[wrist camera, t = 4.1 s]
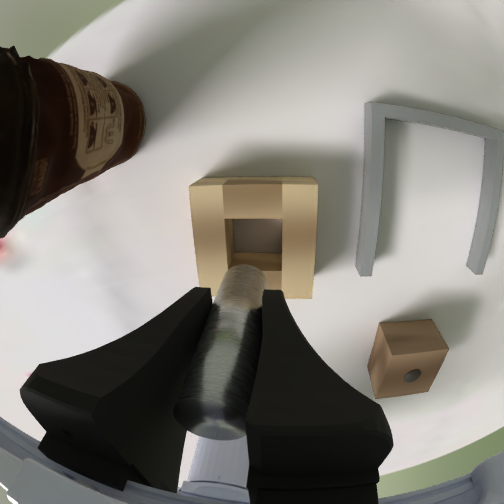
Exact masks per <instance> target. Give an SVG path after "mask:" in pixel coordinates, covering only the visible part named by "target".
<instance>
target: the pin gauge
mask: <svg viewBox="0 0 504 504" xmlns="http://www.w3.org/2000/svg"><path fill="white" fill-rule="evenodd" d="M264 289H268V281H267V278H266V276H265V275H264V273H263V272H262V271H261V270H259V269H258V268H256V267H254V266H252V265H247V264H240V265H236V266H233V267H231V268H230V269H229V270H228V271H227V272H226V273H225V275H224V277H223V279H222V282H221V284H220V287H219V290H218V292H217V295H216V297H215V300H214V303H213V305H212V308H211V310H210V313H209V316H208V318H207V321H206V324H205V326H204V329H203V331H202V334H201V337H200V339H199V342H198V345H197V347H196V350H195V353H194V355H193V358H192V361H191V363H190V366H189V369H188V371H187V374H186V377H185V380H184V382H183V385H182V388H181V391H180V393H179V396H178V399H177V401H176V404H175V407H174V410H173V415H174V417H175V419H176V421H177V422H178V423H179V424H180V425H181V426H182V427H183V428H185V429H186V430H188V431H190V432H191V433H193V434H196V435H198V436H201V437H204V438H208V439H213V440H221V441H228V440H236V439H239V438H242V437H244V436H246V427H245V418H246V415H247V411H248V407H249V403H250V399H251V395H252V391H253V387H254V382H255V377H256V373H257V367H258V362H259V356H260V350H261V344H262V295H263V291H264Z"/></svg>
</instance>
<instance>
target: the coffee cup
mask: <svg viewBox="0 0 504 504" xmlns="http://www.w3.org/2000/svg"><path fill="white" fill-rule="evenodd" d="M144 131H145V115H144V109H143V105H142V102H141V100H140V99H139V97H138V96H137V94H136V93H135V92H134V91H133V90H132V89H130V88H129V87H128V86H125V85H123V84H120V83H118V82H116V81H109V80H107V79H106V78H104V77H102V76H101V75H99V74H97V73H95V72H89V71H85V70H81V69H78V68H76V67H73V66H70V65H67V64H63V63H57V62H55V61H53V60H52V59H46V58H40V59H34V58H32V57H31V56H26V57H19V55H18V53H17V51H16V49H15V46H12V47H10V48H9V49H8V48H2V47H0V238H3V237H5V236H6V235H7V233H8V232H9V231H10V230H11V229H12V228H13V227H14V226H15V225H16V224H17V222H18V221H19V220H21V219H22V218H23V217H24V216H25V215H27V214H29V213H31V212H33V211H35V210H36V209H39V208H41V207H42V206H44V205H45V204H46V203H48V202H50V201H51V200H53V199H55V198H57V197H58V196H59V195H61V194H63V193H65V192H67V191H69V190H71V189H73V188H74V187H76V186H77V185H79V184H82V183H84V182H87V181H89V180H91V179H93V178H95V177H97V176H99V175H100V174H102V173H103V172H105V171H107V170H108V169H110V168H112V167H114V166H117V165H119V164H121V163H124V162H125V161H127V160H128V159H130V158H131V157H132V156H133V155H134V154H135V152H136V150H137V149H138V147H139V145H140V143H141V141H142V138H143V136H144Z"/></svg>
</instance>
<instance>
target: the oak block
mask: <svg viewBox="0 0 504 504" xmlns="http://www.w3.org/2000/svg"><path fill="white" fill-rule="evenodd" d="M189 196H190V207H191V217H192V227H193V237H194V246H195V254H196V263H197V271H198V279H199V286H200V287H207V288H211V295H212V296H216V295H217V292H218V290H219V287H220V284H221V282H222V279H223V277H224V275H225V273H226V272H227V271H228V270H229V269H230V268H231V267H233V266H236V265H240V264H247V265H252V266H254V267H256V268H258V269H259V270H261V271H262V272H263V273H264V275H265V276H266V278H267V281H268V289H269V290H282V291H283V292H284V297H285V299H312V292H313V280H314V266H315V250H316V231H317V207H318V184H317V182H316V181H315V179H314V177H221V178H201V179H199V180H198V181H196V182H195V183H193V184H191V185H190V186H189ZM233 219H282V253H237V252H235V250H234V233H233Z"/></svg>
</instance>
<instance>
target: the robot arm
mask: <svg viewBox="0 0 504 504" xmlns="http://www.w3.org/2000/svg"><path fill="white" fill-rule="evenodd" d="M212 305H213V304H212V295H211V288H207V287H195V288H193V289H192V290H190V291H189V292H188V293H186V294H185V295H184V296H182V297H181V298H180V299H179V300H177V301H176V302H175V303H173V304H172V305H171V306H169V307H168V308H167V309H165V310H164V311H163V312H161V313H160V314H159V315H157V316H156V317H154V318H153V319H151V320H150V321H148V322H147V323H145V324H144V325H142V326H141V327H139V328H137V329H136V330H134V331H132V332H130V333H129V334H127V335H125V336H123V337H121V338H119V339H117V340H115V341H113V342H110V343H108V344H106V345H104V346H101V347H99V348H97V349H94V350H91V351H88V352H86V353H83V354H79V355H76V356H73V357H69V358H66V359H61V360H57V361H52V362H47V363H42V364H39V365H38V366H37V368H36V369H35V370H34V372H33V373H32V374H31V375H30V377H29V378H28V379H27V381H26V382H25V383H24V385H23V386H22V387H21V389H20V395H21V398H22V400H23V403H24V404H25V405H26V407H27V408H28V410H29V411H30V412H31V414H32V415H33V416H34V417H35V419H36V420H37V421H38V422H39V423H40V425H41V426H42V427H43V428H44V429H45V430H46V434H45V436H44V437H43V439H42V441H41V442H40V441H38V440H36V439H34V438H33V437H31V436H29V435H28V434H26V433H24V432H23V431H21V430H19V429H18V428H16V427H15V426H13V425H12V424H10V423H9V422H7V421H6V420H4V419H3V418H1V417H0V485H1V486H2V487H3V488H4V489H5V490H7V496H8V499H9V500H10V501H11V502H12V503H13V504H127V503H128V504H504V451H502V452H500V453H498V454H496V455H494V456H491V457H490V458H488V459H486V460H484V461H483V462H481V463H480V464H479V465H477V466H476V467H475V468H474V469H473V470H472V472H471V473H468V474H466V475H463V476H461V477H458V478H455V479H452V480H449V481H446V482H443V483H440V484H437V485H433V486H430V487H427V488H423V489H420V490H416V491H412V492H408V493H403V494H399V495H395V496H389V497H384V498H379V499H378V494H377V485H376V483H378V482H379V471H378V467H379V466H380V465H381V464H382V462H383V461H384V460H385V458H386V457H387V456H388V454H389V453H390V452H391V450H392V448H393V438H392V433H391V429H390V426H389V424H388V421H387V419H386V416H385V414H384V412H383V410H382V408H381V406H380V405H379V404H377V403H376V402H374V401H373V400H371V399H369V398H368V397H366V396H365V395H363V394H362V393H360V392H359V391H357V390H356V389H354V388H353V387H352V386H350V385H349V384H348V383H347V382H345V381H344V380H343V379H342V378H341V377H340V376H339V375H338V374H337V373H335V372H334V371H333V370H332V369H331V368H330V367H329V366H328V365H327V364H326V363H325V362H324V361H323V360H322V358H321V357H320V356H319V355H318V354H317V353H316V351H315V350H314V349H313V348H312V346H311V345H310V344H309V342H308V341H307V340H306V338H305V337H304V335H303V334H302V332H301V331H300V329H299V327H298V326H297V324H296V322H295V320H294V318H293V316H292V315H291V313H290V310H289V308H288V306H287V303H286V301H285V297H284V292H283V291H282V290H269V289H264V291H263V295H262V344H261V350H260V356H259V362H258V367H257V373H256V377H255V382H254V387H253V391H252V395H251V399H250V403H249V407H248V411H247V415H246V418H245V427H246V436H244V437H242V438H239V439H236V440H228V441H221V440H213V439H208V438H204V437H201V436H199V439H198V443H197V447H196V450H195V454H194V458H193V462H192V465H191V469H190V473H189V477H188V480H187V481H183V484H182V488H179V487H178V481H179V473H180V466H181V460H182V454H183V448H184V442H185V437H186V432H187V430H186V429H185V428H183V427H182V426H181V425H180V424H179V423H178V422H177V421H176V419H175V417H174V415H173V410H174V407H175V404H176V401H177V399H178V396H179V393H180V391H181V388H182V385H183V382H184V380H185V377H186V374H187V371H188V369H189V366H190V363H191V361H192V358H193V355H194V353H195V350H196V347H197V345H198V342H199V339H200V337H201V334H202V331H203V329H204V326H205V324H206V321H207V318H208V316H209V313H210V310H211V308H212ZM89 488H90V489H89ZM91 489H92V490H91ZM98 492H99V493H98ZM103 494H104V495H103ZM108 496H109V497H108ZM113 498H114V499H113ZM121 501H122V502H121ZM124 502H125V503H124Z"/></svg>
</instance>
